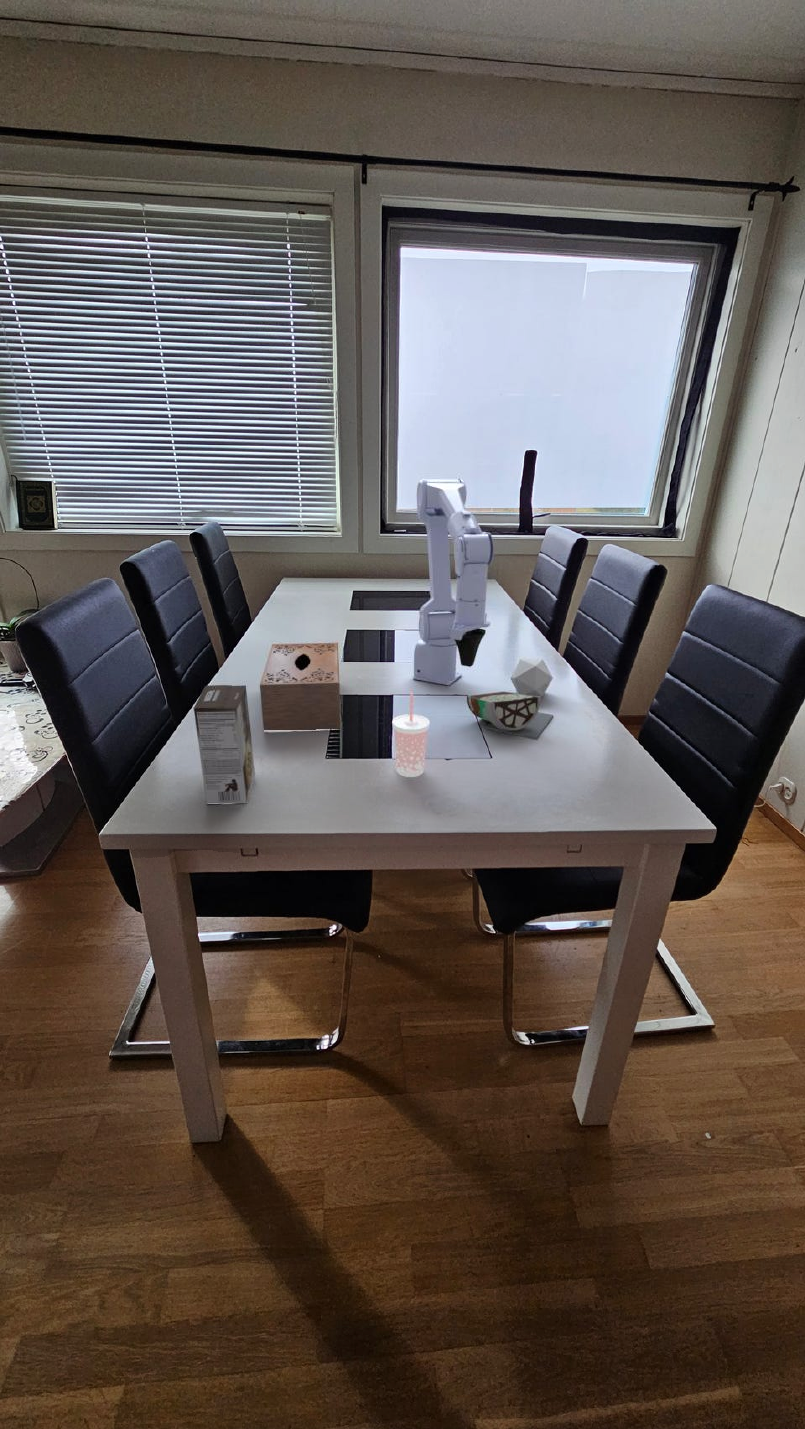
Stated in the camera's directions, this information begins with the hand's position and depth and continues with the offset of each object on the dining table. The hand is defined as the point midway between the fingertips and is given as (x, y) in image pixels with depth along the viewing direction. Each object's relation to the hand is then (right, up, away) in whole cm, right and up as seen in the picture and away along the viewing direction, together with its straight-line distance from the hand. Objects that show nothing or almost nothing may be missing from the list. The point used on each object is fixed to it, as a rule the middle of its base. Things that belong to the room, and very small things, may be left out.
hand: (467, 665), depth 124 cm
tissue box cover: (-33, -9, +5) cm, 35 cm away
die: (+15, -6, +12) cm, 20 cm away
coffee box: (-40, -22, -27) cm, 53 cm away
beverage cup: (-12, -20, -20) cm, 31 cm away
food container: (+4, -9, 0) cm, 9 cm away
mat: (+10, -12, -2) cm, 16 cm away
